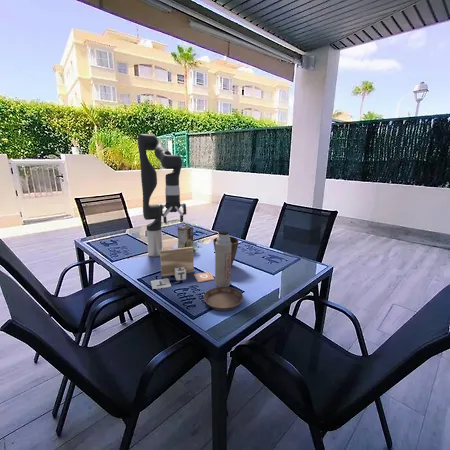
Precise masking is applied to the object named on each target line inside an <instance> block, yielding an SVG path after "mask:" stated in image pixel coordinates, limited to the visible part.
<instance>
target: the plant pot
mask: <svg viewBox="0 0 450 450" xmlns="http://www.w3.org/2000/svg"><path fill="white" fill-rule="evenodd" d="M218 237H219V236H218ZM218 237H215V238H213V240H212V242H213V247H214V250H215V243H216V242H217V238H218ZM229 238H230V242H231V267H232V266H233V263H234V261H235V257H236V255H237V252H238V247H239V239H238V238H237V237H234V236H229Z"/></svg>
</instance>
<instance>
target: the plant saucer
mask: <svg viewBox="0 0 450 450" xmlns="http://www.w3.org/2000/svg"><path fill="white" fill-rule="evenodd" d="M203 300H204V302H205V303H206V304H207V306H208V307H210V308H212V309H214V310H216V311H222V312H224V311H231V310H233V309H235V308H237V307H239V305H240V304H241V303H242V301H243V300H244V295H243V293H242V292H241V291H240V290H239V289H236V288H233V287H230V286H228V287H218V286H216V287H213V288H210V289H209V290H207V291H206V292H205V293H204V295H203Z"/></svg>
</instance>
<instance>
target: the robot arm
mask: <svg viewBox="0 0 450 450" xmlns="http://www.w3.org/2000/svg"><path fill="white" fill-rule="evenodd" d="M137 148H138V153H139V162H140V177H141V178H140V179H141V188H142V191H141V192H142V216H143V219H144V220H146V221H148V220H149V221H151V220H153V221H152V222H150V223H148V224H147V225H146V240H147V242H146V243H147V255H148V256H149V257H152V258H154V257H160V250H163V235H162V234H163V232H162V219H163V223H164V224H166V225H167V223H168V222H167V216H168V215H169V213H177V212H178V214H179V222H180V223H182V222H184V216H185V215H187V205H186V203H184V202H183V203H181V191H180V189H181V188H180V174H181V170H182V167H183V159H182V158H181V156H180V155H179V154H178V155H177V154H172V153H171V151H169V149H167V148H166V147H165V146H163V144H162V142H161V141H160V139H159V138H158V136H156V135H155V134H149V133H146V134H145V133H140V134H138V136H137ZM147 151H154V156H155V158H157V159H158V161H160V163H161V167H162V168H163V169H165V170H172V172H170V173H167V174H165V179H164V180H165V204H162V203H161V204H150V200H151V196H152V195H153V192H154V191H155V189H156V187H157V185H158V176H157V175H158V174H157V170H156V169H155V167H154V166H153V164H152V163H151V161H150V160H149V158H148V154H147ZM164 208H165V211H163V210H164ZM180 208H182V211H181V210H180Z"/></svg>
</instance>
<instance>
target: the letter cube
mask: <svg viewBox="0 0 450 450" xmlns="http://www.w3.org/2000/svg"><path fill="white" fill-rule="evenodd" d="M174 279H175V281H181V280H187V273H186V270H185V268H184V267H180V268H175V275H174Z"/></svg>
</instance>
